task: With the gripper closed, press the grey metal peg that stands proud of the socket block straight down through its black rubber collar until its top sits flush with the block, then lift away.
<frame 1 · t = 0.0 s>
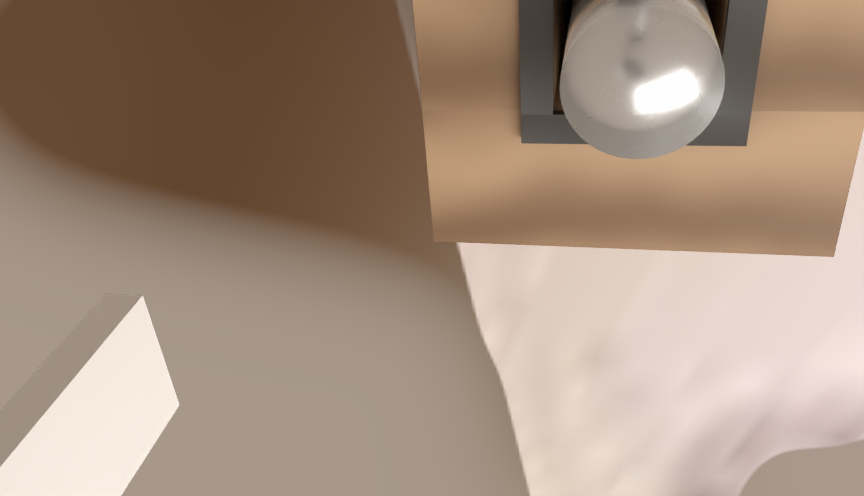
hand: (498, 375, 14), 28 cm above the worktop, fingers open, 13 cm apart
peg: (637, 38, 28), point 10 cm above the worktop, slide at 5.0 cm
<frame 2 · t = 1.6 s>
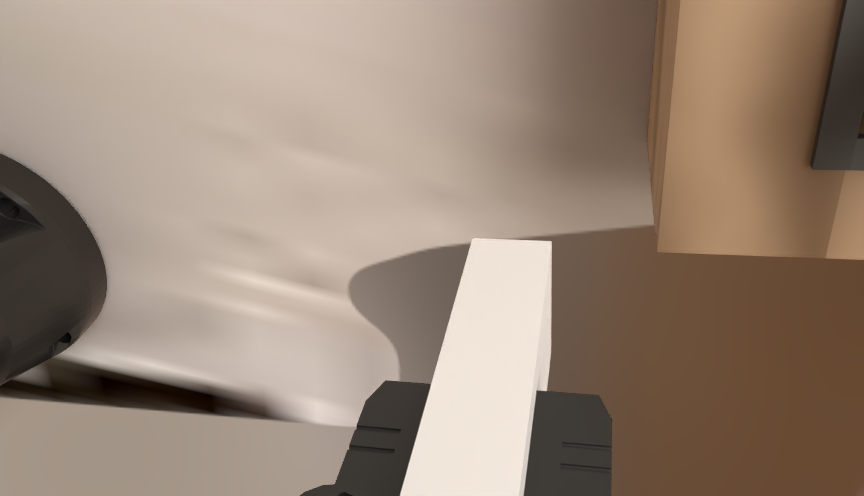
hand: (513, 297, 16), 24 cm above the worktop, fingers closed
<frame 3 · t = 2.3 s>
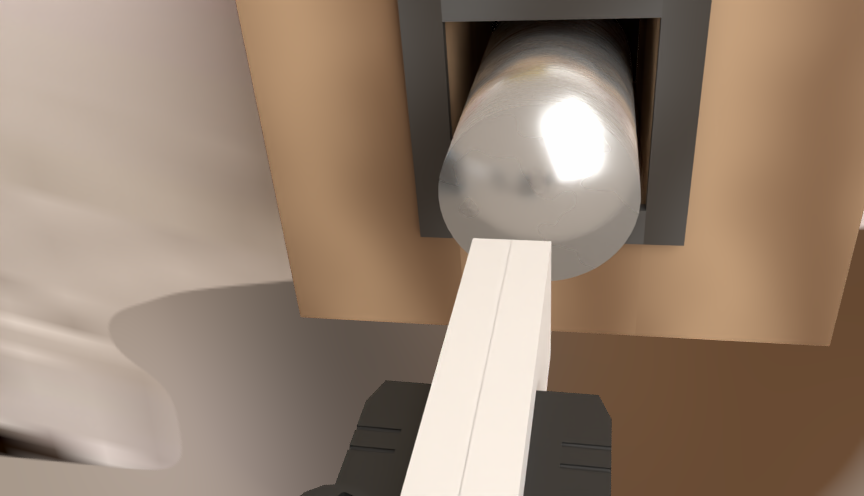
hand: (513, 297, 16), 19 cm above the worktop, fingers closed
socket block: (564, 12, 31), on the worktop
peg: (548, 121, 23), point 11 cm above the worktop, slide at 5.0 cm
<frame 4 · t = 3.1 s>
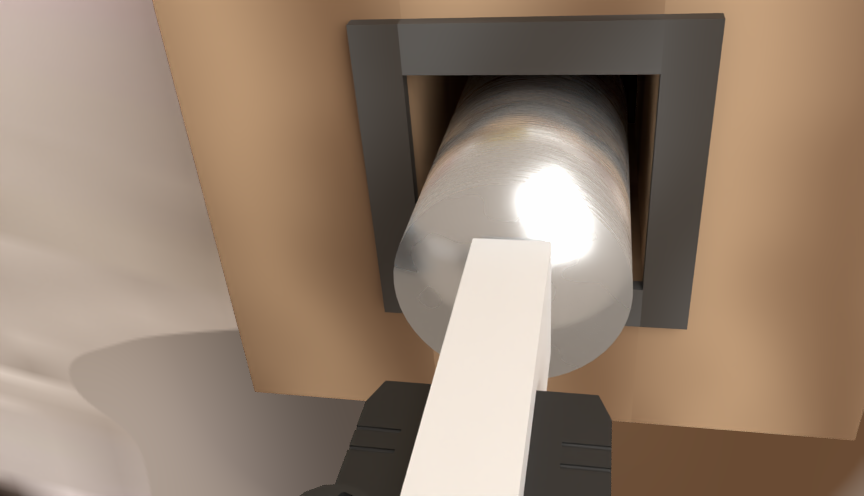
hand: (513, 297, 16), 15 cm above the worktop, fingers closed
socket block: (554, 46, 28), on the worktop
peg: (529, 183, 20), point 10 cm above the worktop, slide at 4.7 cm, touching gripper
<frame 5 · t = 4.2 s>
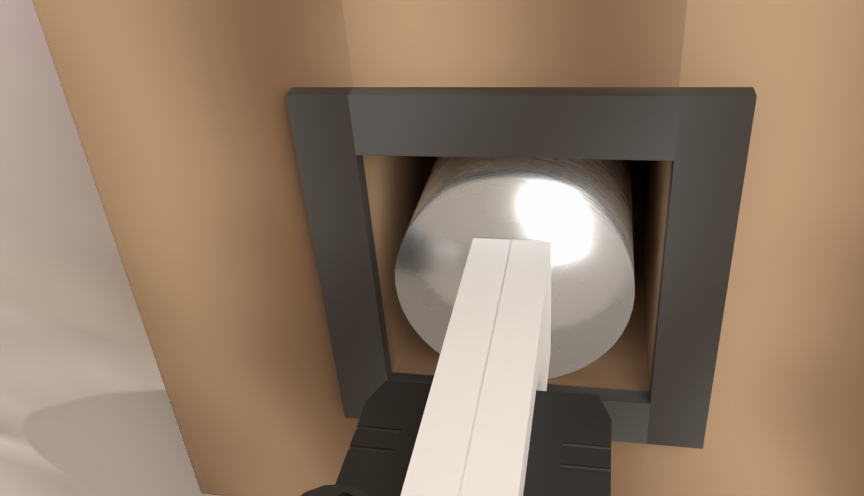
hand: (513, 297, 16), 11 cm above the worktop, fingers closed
socket block: (548, 91, 25), on the worktop
peg: (531, 184, 20), point 6 cm above the worktop, slide at 0.5 cm, touching gripper
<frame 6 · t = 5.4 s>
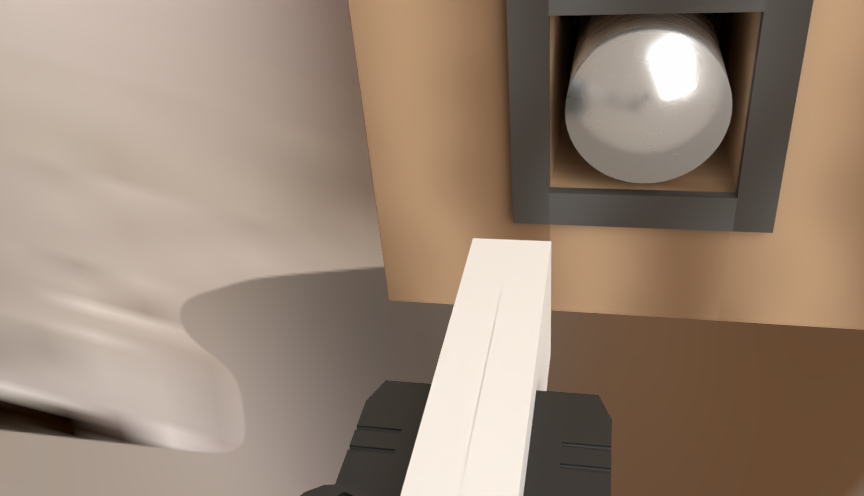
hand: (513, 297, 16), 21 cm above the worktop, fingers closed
socket block: (643, 7, 32), on the worktop
peg: (644, 59, 27), point 6 cm above the worktop, slide at 0.5 cm
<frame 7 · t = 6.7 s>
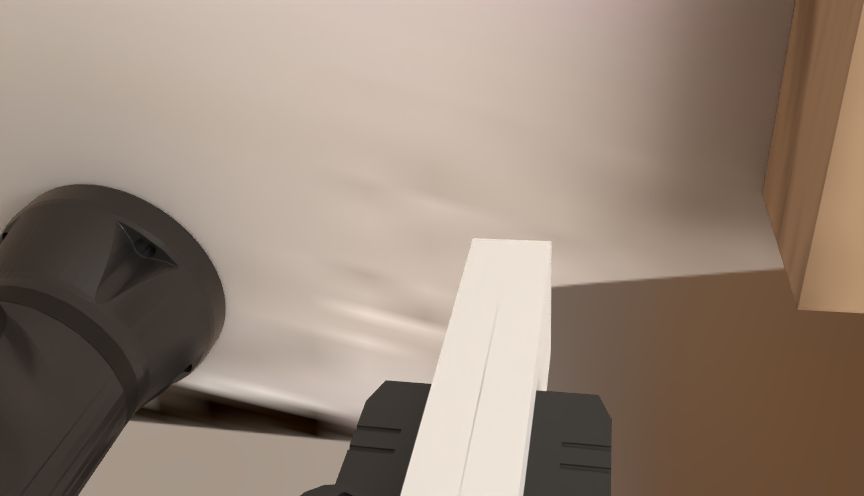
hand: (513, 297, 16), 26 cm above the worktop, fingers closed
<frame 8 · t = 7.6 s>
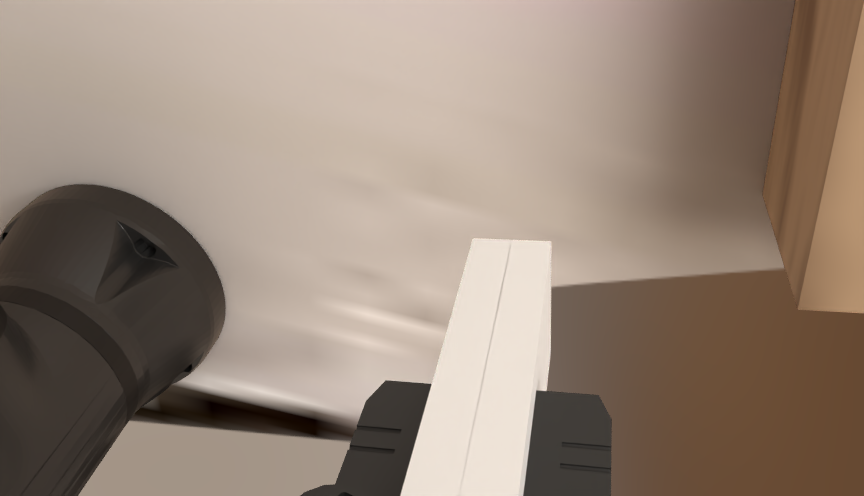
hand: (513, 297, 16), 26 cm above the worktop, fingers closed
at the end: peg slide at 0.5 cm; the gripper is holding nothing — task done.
